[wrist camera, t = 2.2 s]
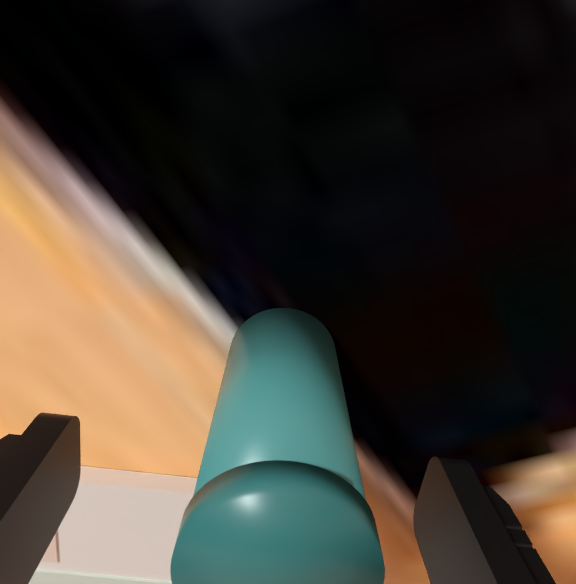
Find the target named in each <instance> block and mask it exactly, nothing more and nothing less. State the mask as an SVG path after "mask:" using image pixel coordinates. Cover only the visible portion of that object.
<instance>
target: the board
mask: <svg viewBox="0 0 576 584" xmlns="http://www.w3.org/2000/svg"><path fill="white" fill-rule="evenodd" d="M197 479H198V478H192V477H182V476H173V475H163V474H154V473H144V472H135V471H125V470H116V469H106V468H97V467H87V466H81V472H80V480H79V485H78V489H77V492H76V495H75V497H74V500H73V502H72V504H71V506H70V508H69V509H68V511H67V513H66V515H65V517H64V519H63V521H62V522H61V524H60V526H59V528H58V530H57V532H56V534H55V535H54V537H53V539H52V541H51V543H50V545H49V546H48V548H47V550H46V552H45V554H44V556H43V558H42V559H41V561H40V563H39V565H38V567H37V569H36V571H35V572H34V574H33V576H32V578H31V580H30V582H29V584H172V581H171V572H170V566H171V559H172V555H173V551H174V547H175V543H176V539H177V536H178V532H179V528H180V524H181V521H182V517H183V514H184V512H185V509H186V507H187V505H188V504H189V502H190V500H191V499H192V498H193V494H194V491H195V487H196V483H197Z"/></svg>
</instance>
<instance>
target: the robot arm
mask: <svg viewBox="0 0 576 584" xmlns="http://www.w3.org/2000/svg"><path fill="white" fill-rule="evenodd" d="M80 472H81V465H80V421H79V418H78V417H77V416H68V415H59V414H50V413H40V414H39V415H38V416H37V417H36V418H35V419H34V420H33V421H32V423H31V424H30V425H29V426H28V428H27V429H26V430H25V431H24V432H23V434H22V435H14V434H8V435H7V436H5V437H3V438H2V439H0V584H29V582H30V580H31V578H32V576H33V574H34V572H35V571H36V569H37V567H38V565H39V563H40V561H41V559H42V558H43V556H44V554H45V552H46V550H47V548H48V546H49V545H50V543H51V541H52V539H53V537H54V535H55V534H56V532H57V530H58V528H59V526H60V524H61V522H62V521H63V519H64V517H65V515H66V513H67V511H68V509H69V508H70V506H71V504H72V502H73V500H74V497H75V495H76V492H77V489H78V485H79V480H80ZM414 531H415V536H416V539H417V542H418V546H419V549H420V552H421V555H422V558H423V561H424V564H425V567H426V570H427V573H428V576H429V579H430V583H431V584H556V583H555V581H554V580H553V578H552V576H551V575H550V573H549V571H548V570H547V568H546V566H545V564H544V563H543V561H542V559H541V558H540V556H539V554H538V553H537V551H536V549H533V547H532V543H531V541H530V539H529V538H528V536H527V534H526V532H525V531H523V530H522V526H521V524H520V522H519V521H518V519H517V517H516V516H515V514H514V512H513V511H512V509H511V507H510V505H509V504H508V503H507V502H506V501H505V500H503V499H502V498H501V497H500V496H499V495H498V494H497V493H496V492H495V491H494V490H493V489H492V488H491V487H490V486H483V485H481V483H480V481H479V479H478V477H477V476H476V474H475V472H474V470H473V468H472V467H471V465H470V463H469V462H468V461H466V460H459V459H450V458H441V457H433V458H431V460H430V461H429V464H428V467H427V470H426V473H425V476H424V479H423V482H422V486H421V489H420V492H419V495H418V498H417V501H416V505H415V509H414Z"/></svg>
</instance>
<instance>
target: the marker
mask: <svg viewBox="0 0 576 584" xmlns="http://www.w3.org/2000/svg"><path fill="white" fill-rule="evenodd" d="M170 572H171V581H172V584H383V583H384V575H385V567H384V561H383V556H382V551H381V546H380V542H379V537H378V532H377V527H376V523H375V519H374V516H373V513H372V510H371V509H370V507H369V505H368V503H367V501H366V500H365V495H364V490H363V485H362V480H361V475H360V470H359V465H358V460H357V455H356V450H355V445H354V440H353V434H352V429H351V424H350V419H349V414H348V409H347V404H346V399H345V394H344V389H343V384H342V379H341V374H340V369H339V364H338V359H337V354H336V349H335V344H334V341H333V338H332V337H331V335H330V333H329V331H328V330H327V328H326V327H325V326H324V325H323V324H322V323H321V322H320V321H319V320H317V319H316V318H315V317H313V316H311V315H310V314H308V313H305V312H303V311H300V310H296V309H291V308H275V309H269V310H266V311H262V312H260V313H258V314H256V315H254V316H252V317H251V318H249V319H248V320H247V321H246V322H244V323H243V324H242V325H241V327H240V328H239V329H238V331H237V332H236V334H235V336H234V338H233V340H232V343H231V347H230V351H229V355H228V359H227V363H226V367H225V371H224V375H223V379H222V383H221V387H220V391H219V395H218V399H217V403H216V407H215V411H214V415H213V419H212V423H211V427H210V431H209V435H208V439H207V443H206V447H205V451H204V455H203V459H202V463H201V467H200V471H199V475H198V479H197V483H196V487H195V491H194V494H193V498H192V499H191V500H190V502H189V504H188V505H187V507H186V509H185V512H184V514H183V517H182V521H181V524H180V528H179V532H178V536H177V539H176V543H175V547H174V551H173V555H172V559H171V566H170Z"/></svg>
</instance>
